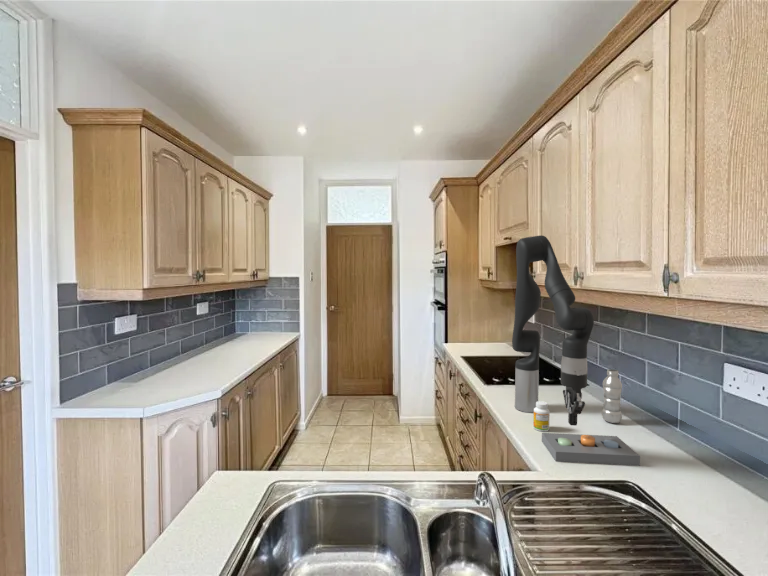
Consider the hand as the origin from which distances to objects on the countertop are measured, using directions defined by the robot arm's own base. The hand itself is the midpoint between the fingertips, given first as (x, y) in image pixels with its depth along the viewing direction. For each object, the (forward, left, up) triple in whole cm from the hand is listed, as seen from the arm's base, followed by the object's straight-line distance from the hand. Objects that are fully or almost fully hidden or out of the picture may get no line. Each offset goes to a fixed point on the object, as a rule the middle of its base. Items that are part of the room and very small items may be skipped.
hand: (572, 424), depth 123 cm
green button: (0, -2, -8) cm, 8 cm away
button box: (0, +5, -9) cm, 10 cm away
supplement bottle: (-18, -4, -9) cm, 21 cm away
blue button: (0, +12, -8) cm, 14 cm away
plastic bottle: (-28, +25, -9) cm, 39 cm away
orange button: (0, +5, -6) cm, 8 cm away
